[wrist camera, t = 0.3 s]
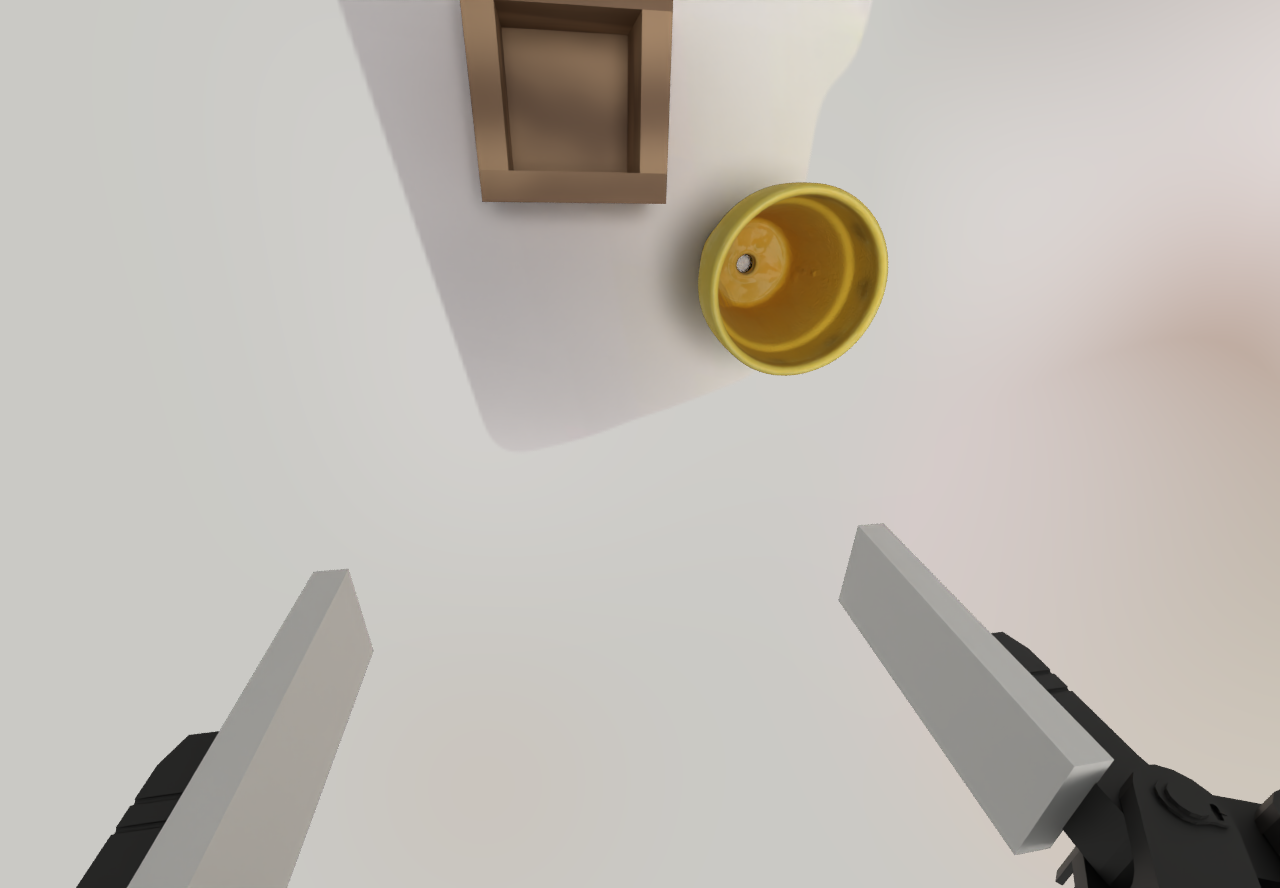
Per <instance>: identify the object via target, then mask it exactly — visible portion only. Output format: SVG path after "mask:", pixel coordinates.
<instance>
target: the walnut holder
mask: <svg viewBox="0 0 1280 888" xmlns="http://www.w3.org/2000/svg"><path fill="white" fill-rule="evenodd" d="M460 5H461V14H462V23H463V32H464V41H465V50H466V59H467V68H468V77H469V86H470V95H471V104H472V113H473V122H474V131H475V140H476V149H477V157H478V166H479V175H480V184H481V193H482V202H556V203H644V204H666V187H667V158H668V130H669V101H670V73H671V45H672V16H673V0H460Z"/></svg>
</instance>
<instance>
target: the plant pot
mask: <svg viewBox="0 0 1280 888" xmlns="http://www.w3.org/2000/svg"><path fill="white" fill-rule="evenodd" d="M744 254H747V255H749V256H750V257H751V258H752V267H751V269H750V270H749V271H748V272H745V273H742V272H740V271H739V270H738V269H737V266H736V264H737V261H738V259H739V258H740V257H741V256H743V255H744ZM887 275H888V254H887V247H886V243H885V239H884V236H883V233H882V231H881V228H880V226H879V224H878V222H877V220H876V219H875V217H874V216H873V214H872V213H871V212H870V210H869V209H868V208H867V207H866V206H865V205H864V204H863V203H862V202H861V201H860V200H858V199H857V198H856V197H855V196H853V195H851V194H850V193H848V192H846V191H844V190H842V189H840V188H837V187H834V186H830V185H826V184H820V183H786V184H779V185H774V186H770V187H767V188H764V189H761V190H759V191H757V192H755V193H753V194H751V195H749V196H748V197H746V198H745V199H743V200H742V201H740V202H739V203H738V204H737V205H735V206H734V207H733V208H732V209H731V210H730V211H729V212H728V213H727V214H726V215H725V216H724V217H723V218H722V220H721V221H720V222H719V224H718V225H717V227H716V228H715V229H714V230H713V231H712V232H711V234H710V235H709V237H708V239H707V240H706V242H705V244H704V247H703V250H702V254H701V260H700V269H699V276H698V293H699V301H700V305H701V309H702V312H703V315H704V317H705V320H706V322H707V324H708V326H709V328H710V329H711V331H712V332H713V334H714V335H715V336H716V338H717V339H718V340H719V341H720V343H721V344H722V345H723V346H724V347H725V348H726V349H727V350H728V351H729V352H730V353H731V354H732V355H733V356H735V357H736V358H737V359H738V360H739V361H741V362H742V363H743V364H745V365H747V366H748V367H750V368H752V369H755V370H757V371H760V372H763V373H767V374H771V375H785V376H787V375H797V374H802V373H806V372H810V371H813V370H816V369H818V368H821V367H823V366H825V365H827V364H829V363H831V362H832V361H834V360H836V359H837V358H839V357H840V356H841V355H843V354H844V353H845V352H846V351H848V350H849V349H850V348H851V347H852V346H853V345H854V344H855V343H856V342H857V341H858V340H859V338H860V337H861V336H862V335H863V334H864V332H865V331H866V329H867V328H868V327H869V325H870V323H871V322H872V320H873V318H874V317H875V315H876V313H877V310H878V308H879V306H880V304H881V301H882V298H883V295H884V291H885V287H886V282H887Z"/></svg>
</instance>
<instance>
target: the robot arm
mask: <svg viewBox="0 0 1280 888" xmlns="http://www.w3.org/2000/svg"><path fill="white" fill-rule="evenodd" d="M839 602H840V603H841V605H842V606H843V608H844V609H845V611H846V612H847V613H848V615H849V616H850V618H851V619H852V621H853V622H854V624H855V625H856V626H857V628H858V629H859V631H860V632H861V634H862V635H863V637H864V638H865V639H866V641H867V642H868V644H869V645H870V647H871V648H872V650H873V651H874V653H875V654H876V655H877V657H878V658H879V660H880V661H881V663H882V664H883V665H884V667H885V668H886V670H887V671H888V673H889V674H890V676H891V677H892V679H893V680H894V681H895V683H896V684H897V686H898V687H899V689H900V690H901V691H902V693H903V694H904V696H905V697H906V699H907V700H908V702H909V703H910V705H911V706H912V707H913V709H914V710H915V712H916V713H917V715H918V716H919V717H920V719H921V720H922V722H923V723H924V725H925V726H926V728H927V729H928V731H929V732H930V733H931V735H932V736H933V738H934V739H935V741H936V742H937V743H938V745H939V746H940V748H941V749H942V751H943V752H944V754H945V755H946V757H947V758H948V759H949V761H950V762H951V764H952V765H953V767H954V768H955V770H956V771H957V773H958V774H959V775H960V777H961V778H962V780H963V781H964V783H965V784H966V786H967V787H968V788H969V790H970V791H971V793H972V794H973V796H974V797H975V799H976V800H977V801H978V803H979V804H980V806H981V807H982V809H983V810H984V812H985V813H986V814H987V816H988V817H989V819H990V820H991V822H992V823H993V824H994V826H995V828H996V829H997V830H998V832H999V833H1000V835H1001V836H1002V837H1003V839H1004V841H1005V842H1006V843H1007V845H1008V846H1009V848H1010V849H1011V851H1012V852H1013V853H1014V855H1018V854H1023V853H1028V852H1033V851H1038V850H1043V849H1048V848H1050V847H1051V846H1052V845H1053V843H1054V842H1055V840H1056V839H1057V838H1058V836H1059V835H1060V834H1061V832H1062V831H1063V830H1064V832H1065V833H1066V834H1067V835H1068V837H1069V838H1070V839H1071V840H1072V842H1073V843H1074V844H1075V845H1076V847H1075V848H1074V849H1073V851H1072V852H1071V853H1070V855H1069V856H1068V857H1067V859H1066V860H1065V861H1064V863H1063V864H1062V865H1061V866H1060V868H1059V869H1058V870H1057V875H1056V882H1057V883H1059V884H1061V885H1063V884H1064V883H1065V882H1066V881H1067V879H1068V878H1069V877H1070V876H1071V874H1072V873H1073V875H1074V882H1075V887H1074V888H1280V790H1278V791H1276V792H1274V793H1273V794H1272V795H1271V796H1270V797H1269V798H1268V799H1267V800H1266V801H1265V802H1264V803H1263V804H1258V803H1252V802H1247V801H1242V800H1236V799H1231V798H1225V797H1220V796H1214V795H1212V794H1210V793H1209V792H1208V791H1206V790H1205V789H1204V788H1203V787H1201V786H1199V785H1198V784H1197V783H1196V782H1194V781H1193V780H1191V779H1189V778H1187V777H1186V776H1184V775H1182V774H1180V773H1178V772H1176V771H1174V770H1171V769H1168V768H1165V767H1161V766H1158V765H1149V764H1147V763H1146V762H1145V761H1144V760H1143V759H1142V758H1141V757H1139V756H1138V755H1137V754H1136V753H1135V752H1134V751H1133V750H1132V749H1131V748H1130V747H1129V746H1128V745H1127V744H1126V743H1125V742H1124V741H1123V740H1122V739H1121V738H1120V737H1119V736H1118V735H1116V733H1114V731H1113V730H1112V729H1110V728H1109V727H1108V726H1107V725H1106V724H1105V723H1104V722H1103V721H1102V720H1101V719H1100V718H1099V717H1098V716H1097V715H1096V714H1095V713H1094V712H1093V711H1092V710H1091V709H1090V708H1089V707H1088V706H1087V705H1086V704H1085V703H1084V702H1083V701H1082V700H1081V699H1080V698H1079V697H1078V696H1077V695H1076V694H1075V693H1074V692H1073V691H1069V690H1068V689H1067V686H1066V685H1065V684H1064V683H1063V682H1062V681H1061V680H1060V679H1059V678H1058V677H1057V676H1056V675H1055V674H1052V673H1051V672H1050V669H1049V668H1048V667H1047V666H1046V665H1045V664H1044V663H1043V662H1042V661H1041V660H1040V659H1039V658H1038V657H1037V656H1036V655H1035V654H1034V653H1032V652H1031V650H1030V649H1028V648H1027V647H1025V646H1024V645H1022V644H1021V643H1019V642H1018V641H1016V640H1014V639H1013V638H1011V637H1010V636H1008V635H1006V634H1005V633H1003V632H998V633H990V632H989V631H988V630H987V629H986V628H985V627H984V626H983V625H982V624H981V623H980V622H979V621H978V620H977V619H976V618H975V617H974V616H973V615H972V613H970V611H969V610H968V609H967V608H966V607H965V606H964V605H963V604H962V603H961V602H960V601H959V600H958V599H957V598H956V597H955V596H954V595H953V594H952V593H951V592H950V591H949V590H948V589H947V588H946V587H945V586H944V585H943V584H942V583H941V582H940V581H939V580H938V579H937V578H936V577H935V576H934V575H933V574H932V573H931V572H930V570H929V569H928V568H927V567H926V566H924V564H923V563H922V562H921V561H920V560H919V559H918V558H917V557H916V556H915V555H914V554H913V553H912V552H911V551H910V550H909V549H908V548H907V547H906V546H905V545H904V544H903V543H902V542H901V541H900V540H899V539H898V538H897V537H896V536H895V535H894V534H893V533H892V532H891V531H890V529H888V527H887V526H886V525H885V524H883V523H882V524H871V525H859V526H858V528H857V532H856V536H855V540H854V543H853V547H852V551H851V555H850V558H849V563H848V567H847V570H846V574H845V577H844V581H843V585H842V589H841V593H840V596H839ZM372 653H373V648H372V644H371V641H370V638H369V634H368V631H367V628H366V625H365V621H364V618H363V615H362V611H361V608H360V605H359V602H358V599H357V595H356V592H355V589H354V585H353V582H352V579H351V576H350V572H349V569H341V570H329V571H317V572H313V574H312V576H311V577H310V579H309V580H308V582H307V584H306V586H305V587H304V589H303V591H302V592H301V594H300V596H299V597H298V599H297V601H296V602H295V604H294V606H293V608H292V609H291V611H290V613H289V614H288V616H287V618H286V620H285V621H284V623H283V625H282V626H281V628H280V630H279V631H278V633H277V635H276V636H275V638H274V640H273V641H272V643H271V645H270V647H269V648H268V650H267V652H266V653H265V655H264V657H263V658H262V660H261V662H260V664H259V665H258V667H257V668H256V670H255V672H254V674H253V675H252V677H251V679H250V680H249V682H248V684H247V686H246V687H245V689H244V690H243V692H242V694H241V696H240V697H239V699H238V701H237V702H236V704H235V706H234V708H233V709H232V711H231V713H230V714H229V716H228V718H227V719H226V721H225V723H224V724H223V726H222V728H221V729H220V731H217V732H210V733H201V734H194V735H189V736H187V737H186V738H185V739H184V740H183V741H182V742H181V743H180V744H179V745H178V746H177V747H176V748H175V749H174V750H173V751H172V752H171V753H170V754H169V755H167V756H166V757H165V758H164V759H163V760H162V761H161V762H160V763H159V764H158V765H157V767H156V768H155V769H154V771H153V772H152V774H151V776H150V777H149V778H148V780H147V781H146V783H145V785H144V786H143V788H142V789H141V790H140V792H139V794H138V795H137V797H136V798H135V803H134V805H132V806H130V807H129V809H128V810H127V812H126V813H125V815H124V816H123V818H122V820H121V821H120V822H119V824H118V825H117V827H116V832H115V834H114V835H111V836H110V838H109V839H108V840H107V842H106V843H105V845H104V847H103V848H102V849H101V851H100V852H99V854H98V855H97V857H96V859H95V860H94V861H93V863H92V865H91V866H90V868H89V869H88V871H87V872H86V874H85V875H84V877H83V878H82V880H81V881H80V883H79V884H78V886H77V887H76V888H287V886H288V883H289V881H290V878H291V875H292V872H293V870H294V867H295V864H296V862H297V859H298V856H299V853H300V851H301V848H302V845H303V842H304V839H305V837H306V834H307V831H308V829H309V826H310V823H311V820H312V818H313V815H314V812H315V810H316V806H317V804H318V801H319V799H320V796H321V793H322V790H323V788H324V785H325V782H326V779H327V777H328V774H329V771H330V768H331V766H332V763H333V760H334V758H335V755H336V752H337V749H338V747H339V744H340V741H341V738H342V735H343V733H344V730H345V727H346V725H347V722H348V719H349V716H350V714H351V711H352V708H353V705H354V703H355V700H356V697H357V695H358V692H359V689H360V686H361V684H362V681H363V678H364V675H365V673H366V670H367V667H368V664H369V662H370V659H371V656H372Z"/></svg>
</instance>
